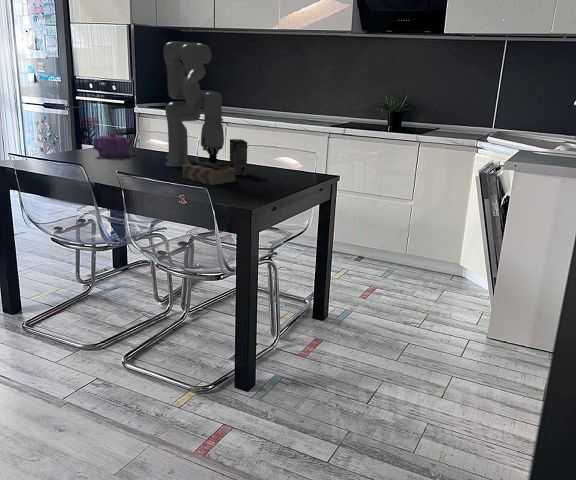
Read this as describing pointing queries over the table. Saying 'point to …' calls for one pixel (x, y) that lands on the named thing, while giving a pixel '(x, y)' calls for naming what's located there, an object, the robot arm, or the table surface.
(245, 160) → the coffee box
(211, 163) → the bar
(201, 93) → the robot arm
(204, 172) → the block
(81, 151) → the table surface
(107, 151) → the teakettle
